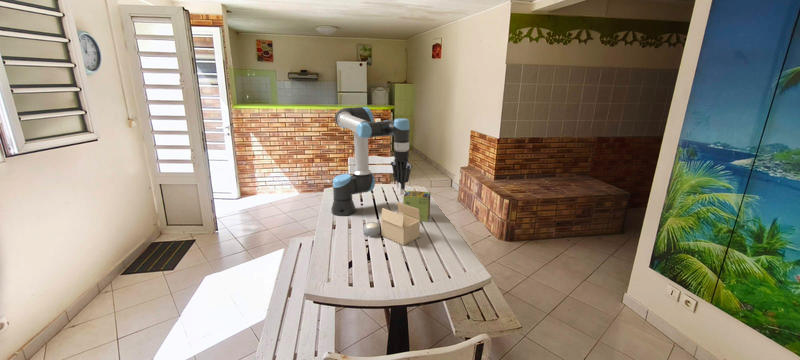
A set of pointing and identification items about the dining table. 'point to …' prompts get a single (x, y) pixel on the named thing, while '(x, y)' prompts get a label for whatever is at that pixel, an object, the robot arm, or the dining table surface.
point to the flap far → (408, 210)
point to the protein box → (418, 203)
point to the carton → (401, 230)
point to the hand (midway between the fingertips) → (401, 194)
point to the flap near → (392, 217)
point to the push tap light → (371, 229)
